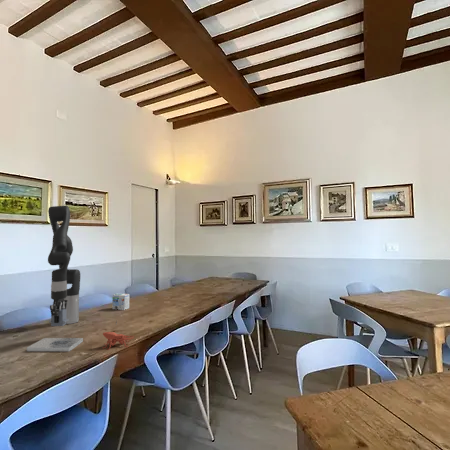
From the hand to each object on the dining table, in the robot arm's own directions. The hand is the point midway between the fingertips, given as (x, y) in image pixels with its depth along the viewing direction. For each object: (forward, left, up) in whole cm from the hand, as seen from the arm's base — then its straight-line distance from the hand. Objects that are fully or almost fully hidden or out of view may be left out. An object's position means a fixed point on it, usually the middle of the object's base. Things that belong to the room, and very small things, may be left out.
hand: (58, 321), depth 167 cm
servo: (0, 0, -2) cm, 2 cm away
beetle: (+10, +36, -9) cm, 38 cm away
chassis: (+13, +6, -9) cm, 16 cm away
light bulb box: (-69, +10, -9) cm, 71 cm away
